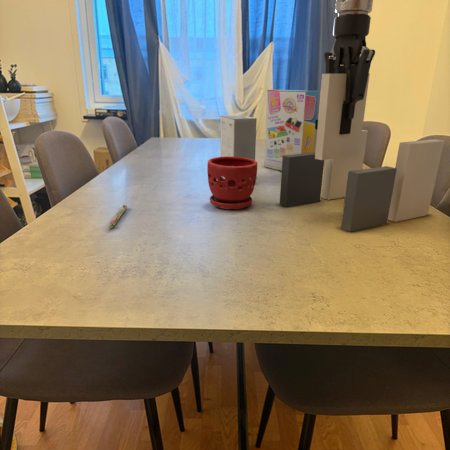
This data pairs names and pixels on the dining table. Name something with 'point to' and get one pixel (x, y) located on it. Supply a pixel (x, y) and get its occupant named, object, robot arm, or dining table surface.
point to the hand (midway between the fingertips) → (339, 132)
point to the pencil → (117, 216)
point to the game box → (289, 124)
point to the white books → (404, 180)
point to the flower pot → (231, 181)
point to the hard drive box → (238, 136)
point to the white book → (337, 120)
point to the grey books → (355, 191)
